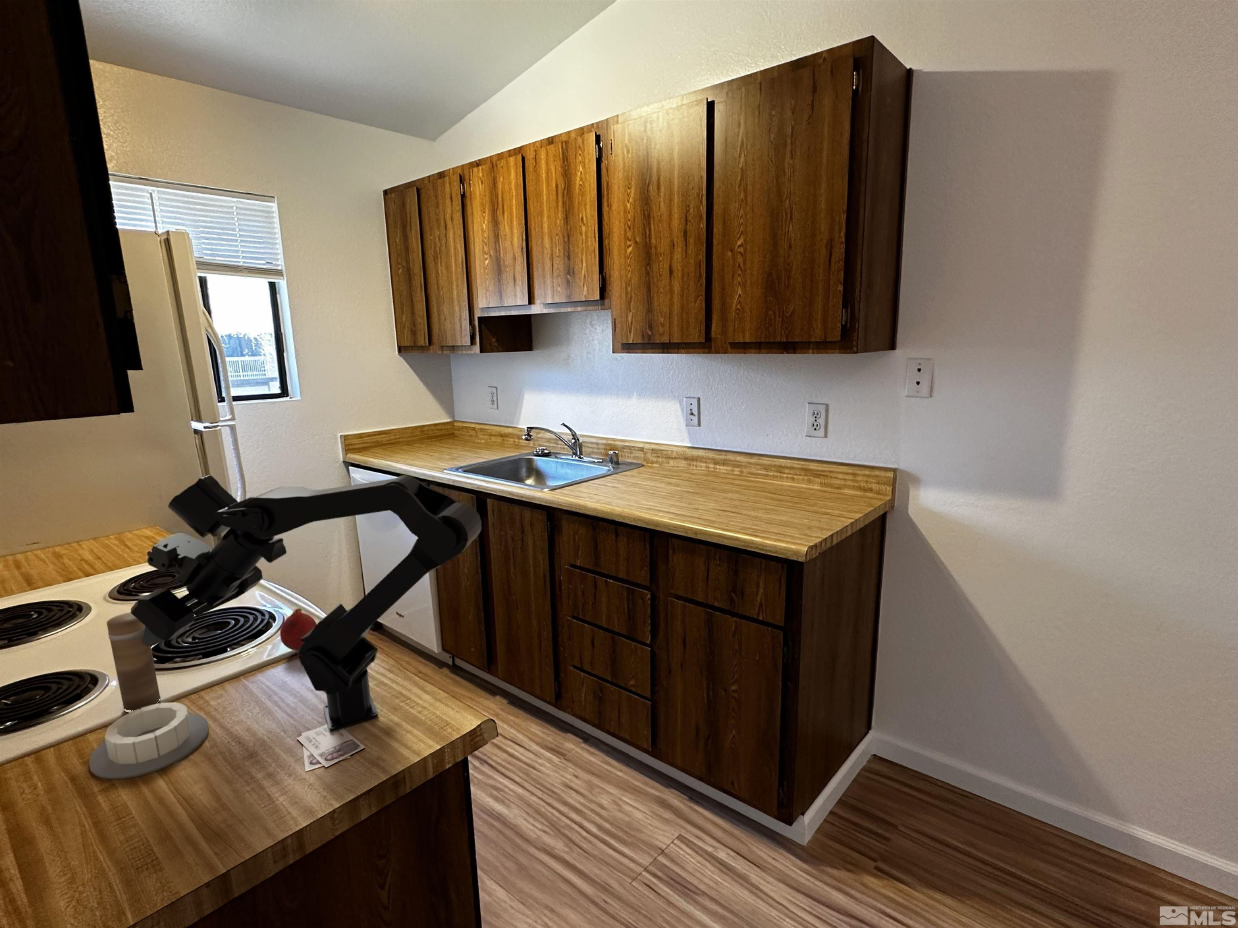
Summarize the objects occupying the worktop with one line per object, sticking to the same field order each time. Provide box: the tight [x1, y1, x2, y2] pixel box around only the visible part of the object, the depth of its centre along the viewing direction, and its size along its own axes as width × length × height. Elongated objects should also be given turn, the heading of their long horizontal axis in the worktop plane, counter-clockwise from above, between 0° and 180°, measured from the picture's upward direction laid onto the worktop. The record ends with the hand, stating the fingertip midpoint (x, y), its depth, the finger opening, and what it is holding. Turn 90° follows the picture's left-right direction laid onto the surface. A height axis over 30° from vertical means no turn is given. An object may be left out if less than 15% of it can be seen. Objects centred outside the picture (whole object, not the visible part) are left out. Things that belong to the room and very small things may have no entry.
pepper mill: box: [106, 611, 161, 711], centre depth 93 cm, size 4×4×14 cm
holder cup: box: [88, 701, 210, 780], centre depth 85 cm, size 13×13×4 cm
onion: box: [279, 607, 318, 652], centre depth 109 cm, size 6×6×8 cm
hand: (171, 628), depth 91 cm, fingers open, 9 cm apart
